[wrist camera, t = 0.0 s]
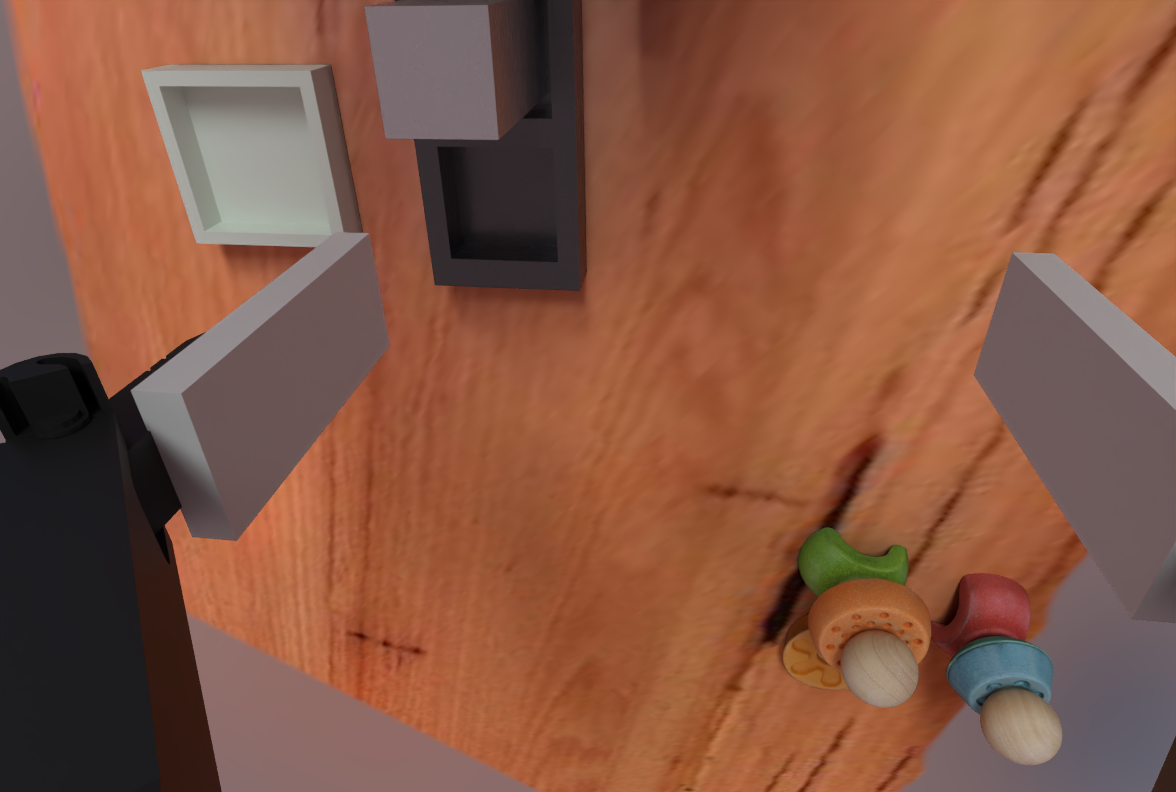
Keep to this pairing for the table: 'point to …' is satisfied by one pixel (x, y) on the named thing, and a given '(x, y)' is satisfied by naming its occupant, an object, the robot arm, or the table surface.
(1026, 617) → the wooden stacking toy
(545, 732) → the table surface
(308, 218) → the tray
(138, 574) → the robot arm
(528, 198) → the dark rectangular frame
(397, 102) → the grey rectangular block
